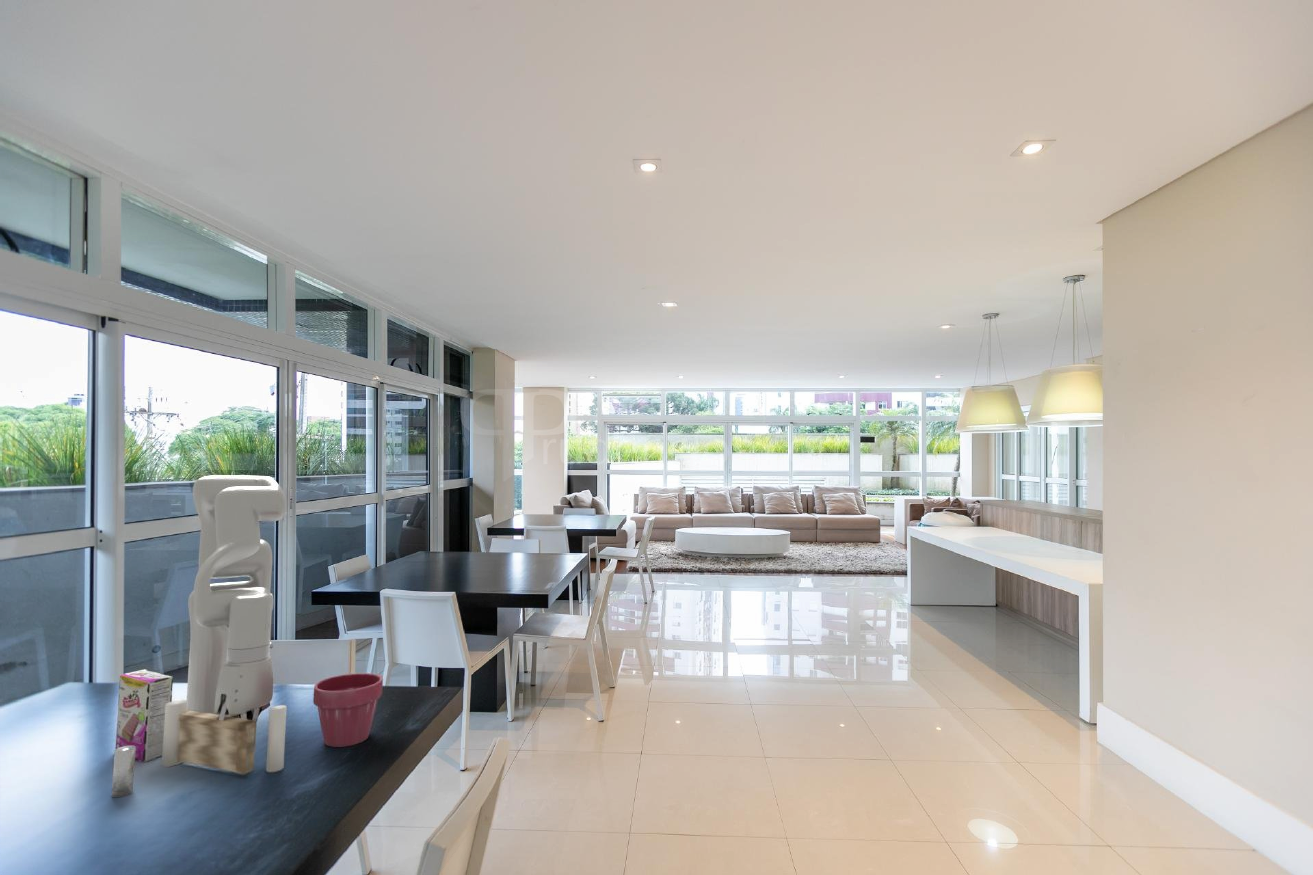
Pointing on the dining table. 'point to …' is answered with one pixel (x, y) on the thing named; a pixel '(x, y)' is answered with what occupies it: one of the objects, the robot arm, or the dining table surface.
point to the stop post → (123, 771)
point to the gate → (217, 741)
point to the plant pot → (347, 707)
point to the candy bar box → (143, 712)
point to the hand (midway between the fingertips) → (243, 744)
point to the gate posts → (274, 735)
